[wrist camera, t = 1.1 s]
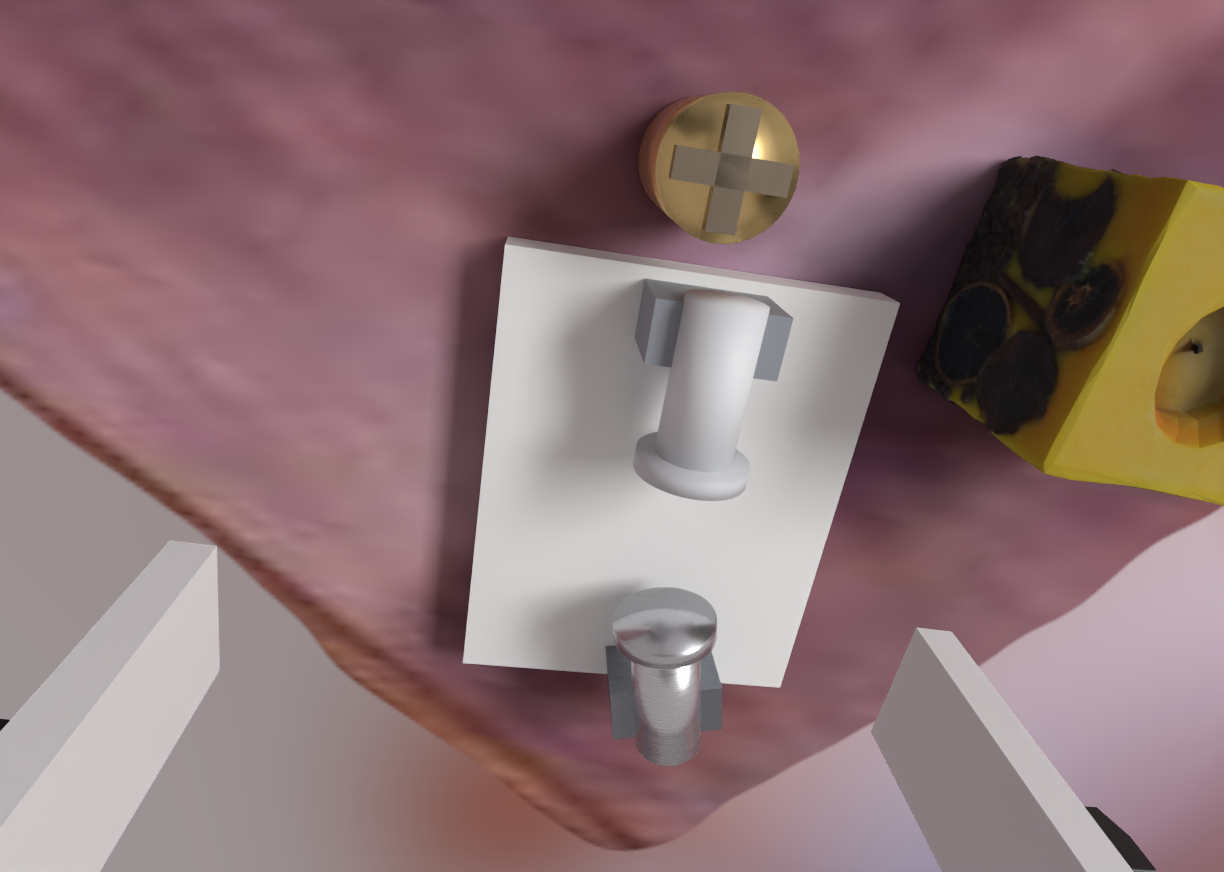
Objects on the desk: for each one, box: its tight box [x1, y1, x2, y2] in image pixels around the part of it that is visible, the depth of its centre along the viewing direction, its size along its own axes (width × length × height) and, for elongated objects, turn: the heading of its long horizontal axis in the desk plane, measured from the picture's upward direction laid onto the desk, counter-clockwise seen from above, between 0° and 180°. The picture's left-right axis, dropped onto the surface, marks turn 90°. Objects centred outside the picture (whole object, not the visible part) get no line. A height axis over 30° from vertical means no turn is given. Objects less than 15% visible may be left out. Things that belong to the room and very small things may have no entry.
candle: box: [917, 156, 1224, 506], centre depth 28 cm, size 10×10×10 cm
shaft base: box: [463, 236, 900, 687], centre depth 31 cm, size 20×16×8 cm
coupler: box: [638, 92, 799, 244], centre depth 26 cm, size 5×5×7 cm
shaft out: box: [605, 587, 722, 766], centre depth 33 cm, size 7×5×6 cm
